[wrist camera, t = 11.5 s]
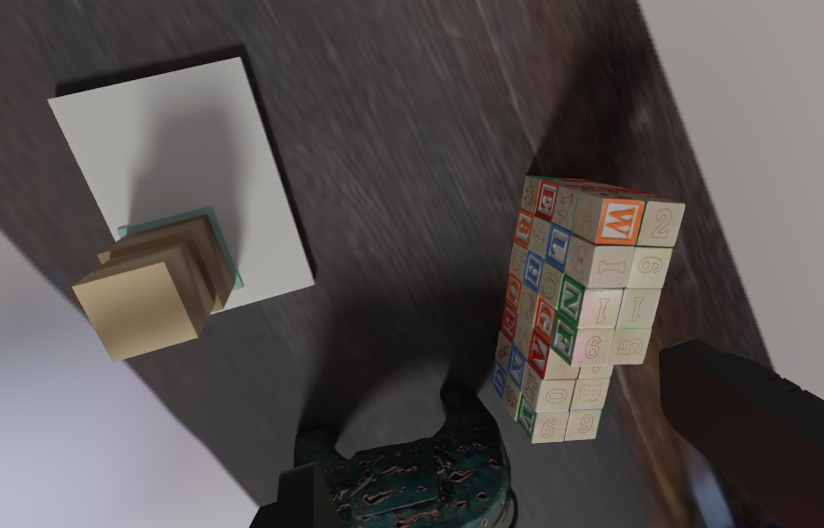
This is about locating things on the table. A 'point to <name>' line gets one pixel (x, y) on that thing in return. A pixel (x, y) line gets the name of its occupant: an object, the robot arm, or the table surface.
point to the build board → (191, 168)
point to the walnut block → (201, 246)
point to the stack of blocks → (578, 299)
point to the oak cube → (146, 300)
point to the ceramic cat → (421, 473)
